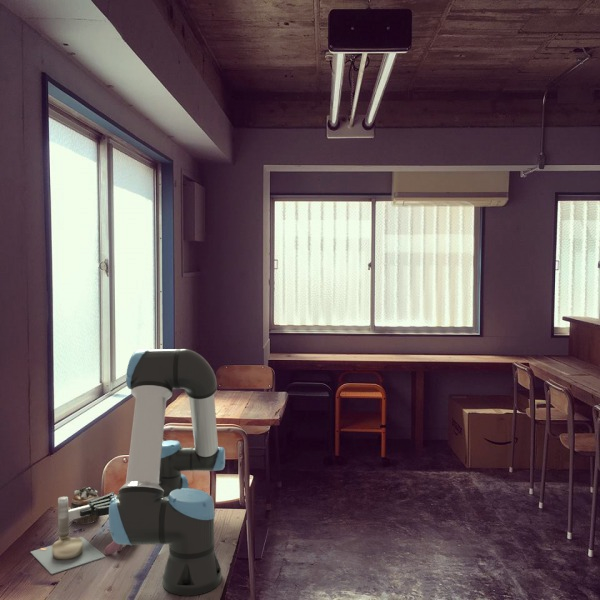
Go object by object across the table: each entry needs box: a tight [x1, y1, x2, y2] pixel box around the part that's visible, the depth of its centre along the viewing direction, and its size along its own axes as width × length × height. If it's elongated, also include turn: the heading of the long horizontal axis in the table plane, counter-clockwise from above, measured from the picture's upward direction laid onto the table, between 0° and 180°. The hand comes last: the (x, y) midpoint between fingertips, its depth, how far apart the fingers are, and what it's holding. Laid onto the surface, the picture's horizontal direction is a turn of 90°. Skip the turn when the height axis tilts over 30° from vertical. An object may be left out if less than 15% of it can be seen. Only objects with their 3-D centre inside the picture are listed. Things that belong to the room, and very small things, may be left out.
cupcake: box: [69, 485, 100, 524], centre depth 199 cm, size 10×10×10 cm
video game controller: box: [104, 540, 127, 556], centre depth 179 cm, size 10×5×7 cm, turn 169°
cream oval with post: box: [52, 496, 82, 560], centre depth 176 cm, size 12×8×14 cm
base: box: [30, 536, 106, 576], centre depth 174 cm, size 17×15×1 cm
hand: (67, 515), depth 181 cm, fingers closed
